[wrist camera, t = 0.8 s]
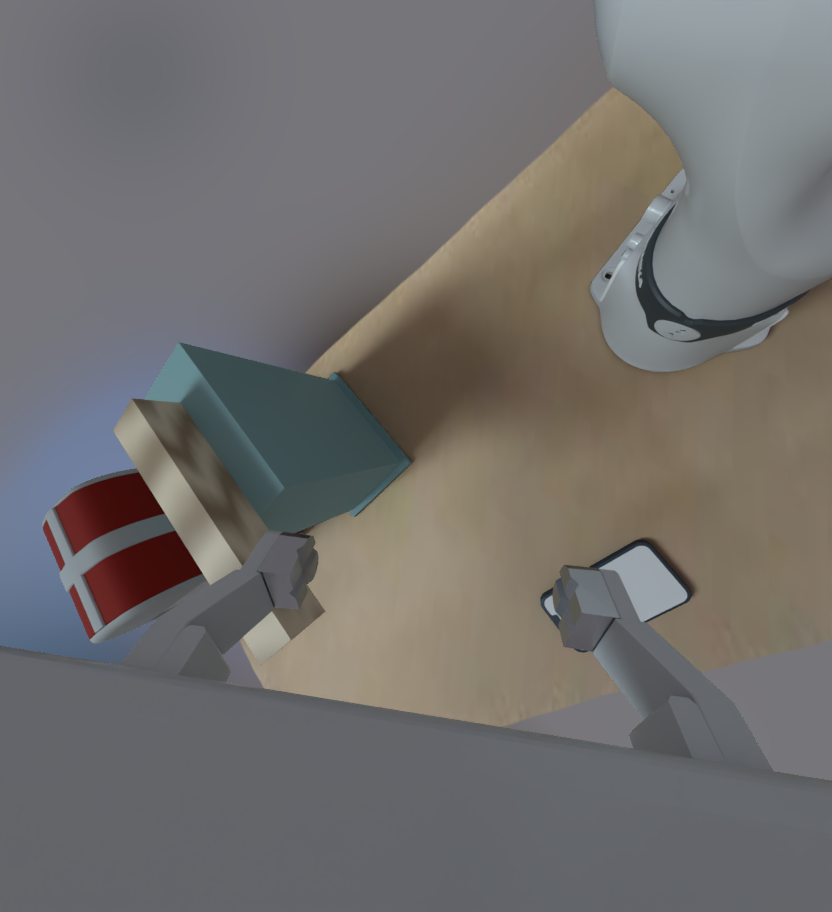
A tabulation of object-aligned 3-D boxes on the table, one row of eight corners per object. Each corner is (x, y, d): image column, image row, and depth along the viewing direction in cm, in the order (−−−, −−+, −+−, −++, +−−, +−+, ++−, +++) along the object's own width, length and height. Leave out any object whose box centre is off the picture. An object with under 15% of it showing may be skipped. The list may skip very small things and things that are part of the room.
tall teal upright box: (290, 429, 60) (118, 428, 35) (337, 372, 55) (178, 326, 31) (356, 515, 56) (214, 580, 32) (412, 462, 52) (298, 489, 27)
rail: (161, 430, 33) (113, 430, 29) (180, 402, 32) (131, 398, 28) (297, 634, 28) (260, 665, 25) (325, 611, 27) (290, 639, 23)
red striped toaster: (262, 454, 62) (73, 469, 37) (306, 535, 60) (136, 610, 35) (212, 497, 68) (19, 536, 43) (251, 573, 66) (71, 661, 40)
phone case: (641, 533, 42) (536, 595, 47) (645, 537, 40) (535, 600, 45) (692, 593, 40) (578, 650, 45) (698, 599, 39) (579, 657, 44)
